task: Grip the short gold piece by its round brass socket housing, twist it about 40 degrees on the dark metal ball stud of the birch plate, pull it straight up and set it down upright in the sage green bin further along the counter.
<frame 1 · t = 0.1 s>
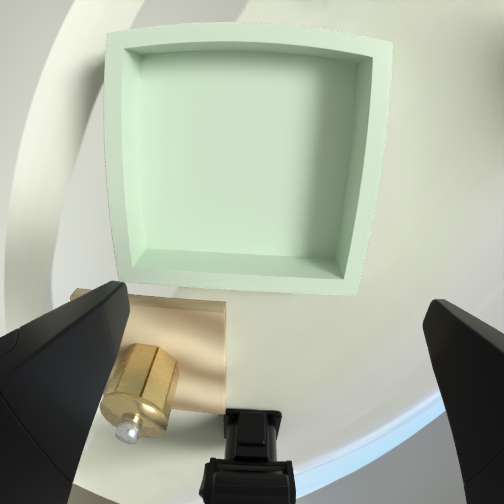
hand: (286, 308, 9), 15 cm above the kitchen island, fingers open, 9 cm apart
stud plate: (155, 354, 29), on the kitchen island
gold piece: (151, 364, 28), point 1 cm above the kitchen island, touching stud plate
bin: (243, 153, 21), on the kitchen island
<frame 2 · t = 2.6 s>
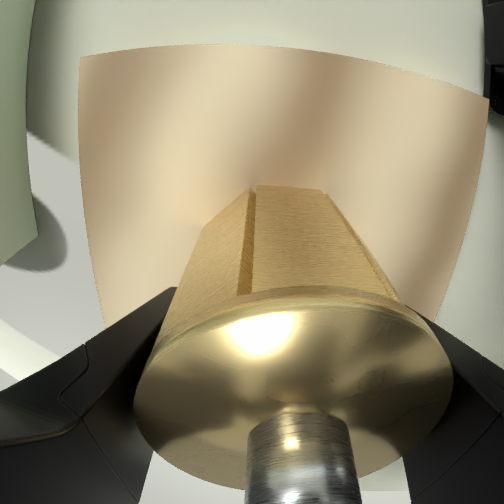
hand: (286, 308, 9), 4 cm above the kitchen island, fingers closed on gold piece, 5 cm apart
stud plate: (278, 246, 12), on the kitchen island
gold piece: (280, 264, 11), point 1 cm above the kitchen island, touching gripper, stud plate
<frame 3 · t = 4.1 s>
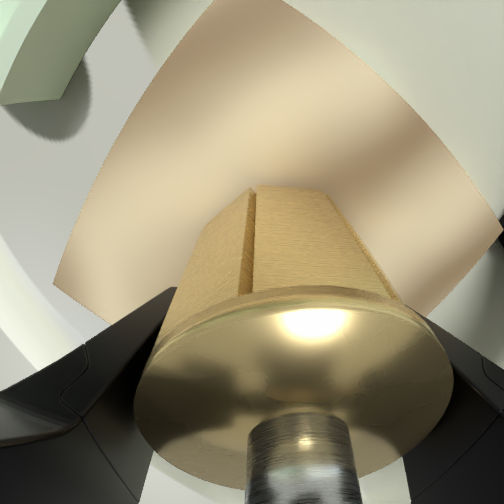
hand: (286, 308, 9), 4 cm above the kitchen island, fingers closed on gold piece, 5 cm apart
stud plate: (278, 241, 13), on the kitchen island
gold piece: (280, 264, 11), point 2 cm above the kitchen island, touching gripper
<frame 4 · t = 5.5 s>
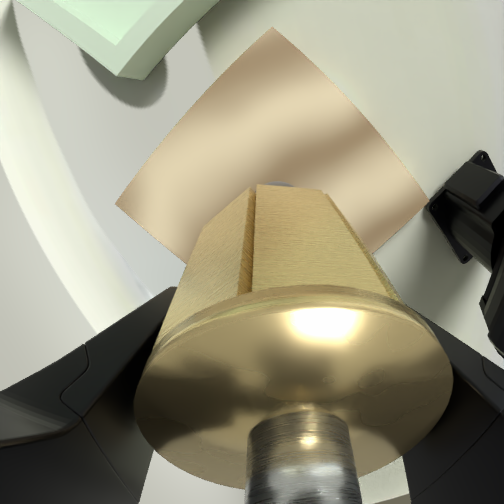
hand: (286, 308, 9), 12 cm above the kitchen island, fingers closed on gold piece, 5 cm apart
stud plate: (274, 190, 19), on the kitchen island
gold piece: (280, 264, 11), point 10 cm above the kitchen island, touching gripper
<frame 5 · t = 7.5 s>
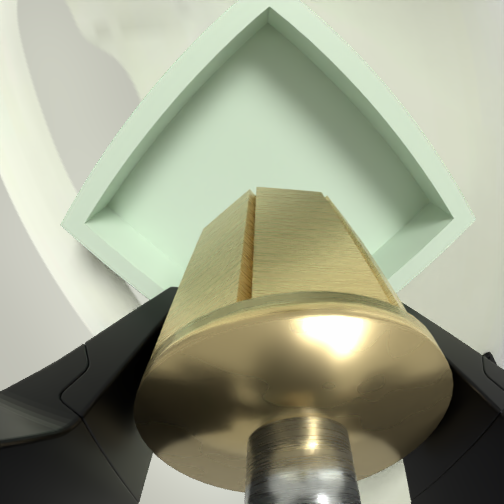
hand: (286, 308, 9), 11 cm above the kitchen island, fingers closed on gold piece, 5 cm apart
gold piece: (280, 267, 11), point 9 cm above the kitchen island, touching gripper
bin: (270, 193, 19), on the kitchen island
when the fingers open (5 cm above the kitchen island, at t = 8.8 s): gold piece drops 2 cm, resting on bin.
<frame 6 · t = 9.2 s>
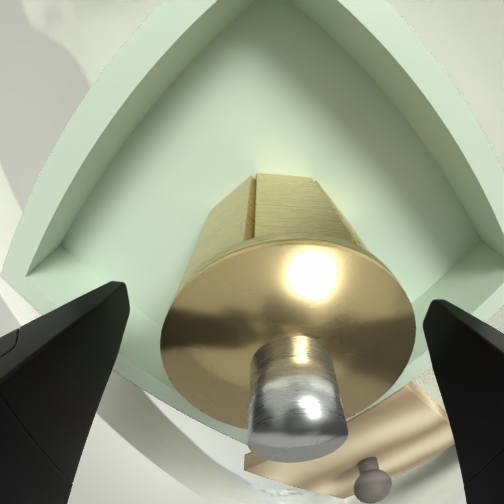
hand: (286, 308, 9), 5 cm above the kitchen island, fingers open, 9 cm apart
stud plate: (364, 446, 22), on the kitchen island
gold piece: (277, 242, 13), point 1 cm above the kitchen island, touching bin
bin: (276, 230, 13), on the kitchen island
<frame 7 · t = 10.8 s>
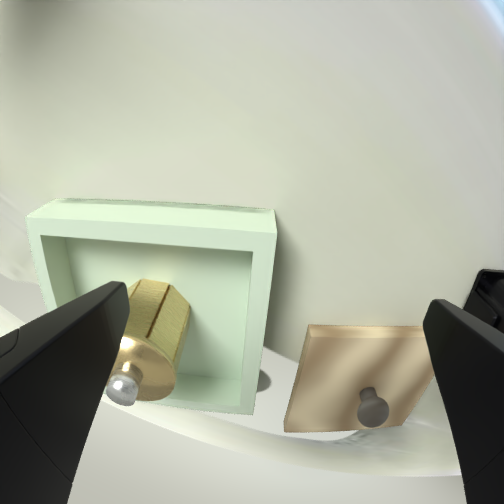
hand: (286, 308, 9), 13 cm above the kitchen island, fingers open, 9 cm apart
stud plate: (363, 381, 28), on the kitchen island
gold piece: (155, 310, 23), point 1 cm above the kitchen island, touching bin
bin: (158, 302, 24), on the kitchen island
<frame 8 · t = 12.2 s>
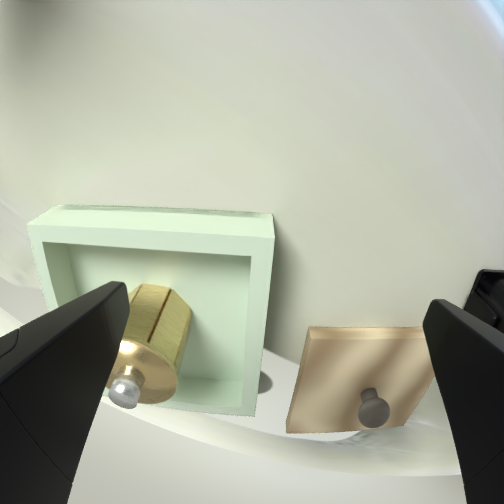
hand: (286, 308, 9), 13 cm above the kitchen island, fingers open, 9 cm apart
stud plate: (365, 381, 28), on the kitchen island
gold piece: (157, 314, 24), point 1 cm above the kitchen island, touching bin
bin: (159, 306, 25), on the kitchen island
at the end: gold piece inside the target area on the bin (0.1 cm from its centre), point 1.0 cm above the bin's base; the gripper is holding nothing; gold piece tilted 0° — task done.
